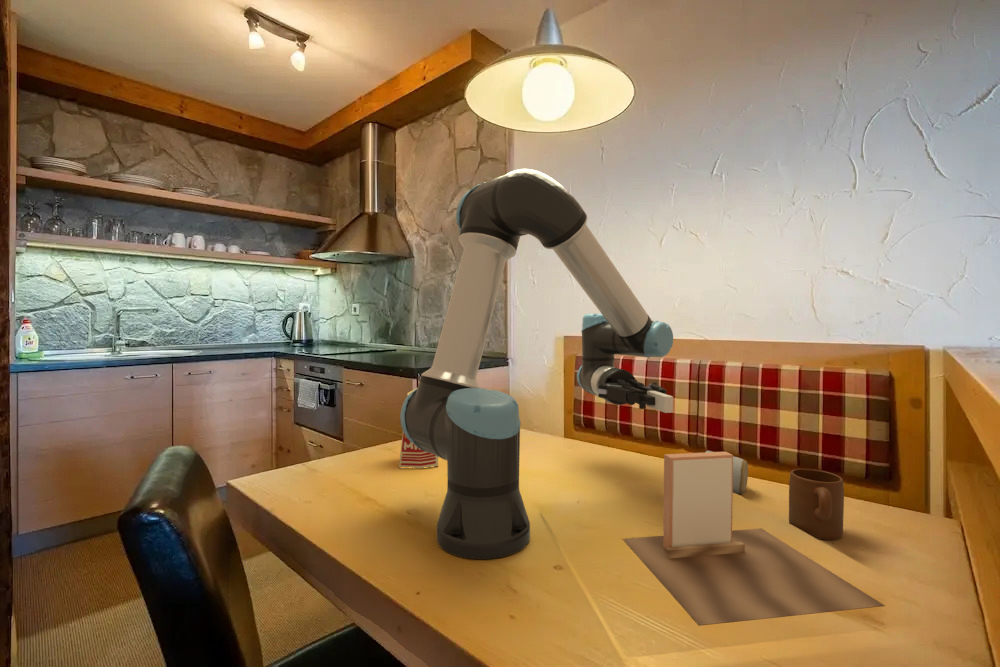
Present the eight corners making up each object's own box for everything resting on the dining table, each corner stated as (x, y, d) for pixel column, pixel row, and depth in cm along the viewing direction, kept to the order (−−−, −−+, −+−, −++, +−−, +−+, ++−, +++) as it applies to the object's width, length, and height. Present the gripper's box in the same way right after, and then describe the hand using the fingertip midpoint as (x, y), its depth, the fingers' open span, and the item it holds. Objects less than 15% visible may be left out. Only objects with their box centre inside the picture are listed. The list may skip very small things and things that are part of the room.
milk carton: (402, 459, 119) (401, 380, 119) (438, 457, 120) (438, 380, 120) (398, 470, 110) (397, 385, 110) (438, 469, 111) (437, 385, 111)
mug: (856, 558, 70) (857, 495, 69) (796, 547, 73) (797, 487, 73) (836, 525, 81) (838, 471, 80) (785, 518, 84) (786, 465, 84)
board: (698, 635, 52) (699, 614, 52) (622, 546, 73) (622, 531, 73) (884, 615, 56) (885, 595, 56) (761, 535, 77) (761, 521, 77)
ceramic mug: (744, 500, 92) (744, 461, 92) (699, 491, 97) (700, 454, 97) (750, 485, 101) (751, 449, 101) (709, 478, 105) (709, 444, 105)
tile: (670, 553, 68) (671, 458, 68) (663, 546, 71) (664, 454, 70) (733, 548, 70) (734, 455, 70) (724, 542, 72) (725, 451, 72)
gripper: (642, 401, 103) (704, 425, 80) (585, 403, 101) (632, 428, 78) (642, 367, 103) (704, 381, 80) (585, 368, 101) (632, 383, 78)
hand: (668, 404), depth 79 cm, fingers closed
